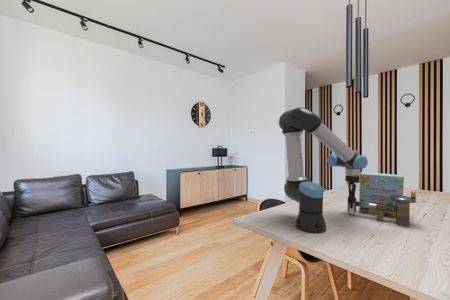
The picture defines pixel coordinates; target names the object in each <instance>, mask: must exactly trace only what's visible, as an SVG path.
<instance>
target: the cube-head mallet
mask: <svg viewBox="0 0 450 300" xmlns="http://www.w3.org/2000/svg"><path fill="white" fill-rule="evenodd" d="M348 202H349V195H348V196H347V212H348V213H349V203H348ZM378 205H381V204H378ZM357 207H358V208H359V207H366V208H372V209H377V204H373V203H366V202H359V200H357V197H356V196H355V197H354V214H356V213H357ZM383 210H386V211H393V212H395V211H396V210H397V209H396V207H394V206H388V205H383Z"/></svg>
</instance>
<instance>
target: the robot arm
mask: <svg viewBox="0 0 450 300" xmlns="http://www.w3.org/2000/svg"><path fill="white" fill-rule="evenodd" d="M278 126H279V128H280V129H281V131H282V135H283V137H285V145H286V146H285V147H286V159H287V173H288V176H287V178H286V180H285V181H286V182H285V183H284V186H283V191H284V193H285V195H286V197H288V199H290V200H291V201H294V202H296V203H298V214H297V215H296V216H297V217H296V219H295V227H296V228H297V229H298V230H300V231H303V232H305V233H311V234H321V233H325V232H326V231H327V223H326V220H325V217H324V215H323V214H324V210H323V209H324V208H323V207H324V189H323V186H322V185H321V184H319V183H316V182H312V181H308V178H307V177H306V176H305V174H304V165H303V162H304V161H303V149H302V148H303V147H302V134H303V133H304V131H305V132H306V133H308V134H311V135H312V136H314V138H316V139H317V140H318V141H319V142H320V143H322V144H323V145H324V146H325V147H326V148H328V149H329V150H330V151H331V152H332V153H331V154H329V155H328V157H327V164H328V165H329V166H330V167H340V168H344V172H345V174H344V175H345V178H344V179H345V182H347V183H348V182H349V183H348V185H347V188H348V196H349V202H348V201H347V204H348V203H349V212H348V213H349V214H353V215H354V214H355V213H354V197H356V189H357V184H356V183H360V172H361V170H363V169H366V167H367V166H368V163H369V161H368V158H367V157H366V156H365V155H361V154H360V151H359V150H353V149H352V148H351V147H350V146H349V145H347V144H346V143H345V142H344V141H343V140H342V139H341V138H340V137H338V135H337V134H335V133H334V132H333V131H332V130H331V129H330V128H329V127H328V126H326V125H325V124H324V123H323V120H322V118H321V117H319V116H318V115H317V114H316V113H314V112H313V111H312V110H310V109H308V108H305V107H301V106H300V107H295V108H293V109H289V110H287V111H285V112H283V113H282V114H281V115H280V116H279V118H278Z"/></svg>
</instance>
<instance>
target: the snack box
mask: <svg viewBox="0 0 450 300" xmlns="http://www.w3.org/2000/svg"><path fill="white" fill-rule="evenodd" d="M404 181H405V177H404V176H403V175H401V174H391V173H390V174H389V173H377V172H359V193H358V195H359V196H358V198H359V199H358V201H359V202H366V203H373V204H377V202H379V203H383V205H388V206H394V207H396V201H394V200H391V199H390V196H391V195H401V196H404V184H405V183H404ZM358 210H359V211H358V213H361V214H367V215H372V216H374V215H375V216H377V209H372V208H366V207H359V206H358ZM383 217H386V218H392V219H396V211H395V212H393V211H386V210H383Z"/></svg>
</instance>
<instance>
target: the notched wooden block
mask: <svg viewBox="0 0 450 300" xmlns="http://www.w3.org/2000/svg"><path fill="white" fill-rule="evenodd" d="M378 204H381V205H378ZM410 206H411V203H404V202H398V201H396V209H397V210H396V218H395V222H396V225H397V226H400V227H406V228H410V208H411V207H410ZM376 221H377V222H381V223H384V216H383V203H379V202H377V215H376Z"/></svg>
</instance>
